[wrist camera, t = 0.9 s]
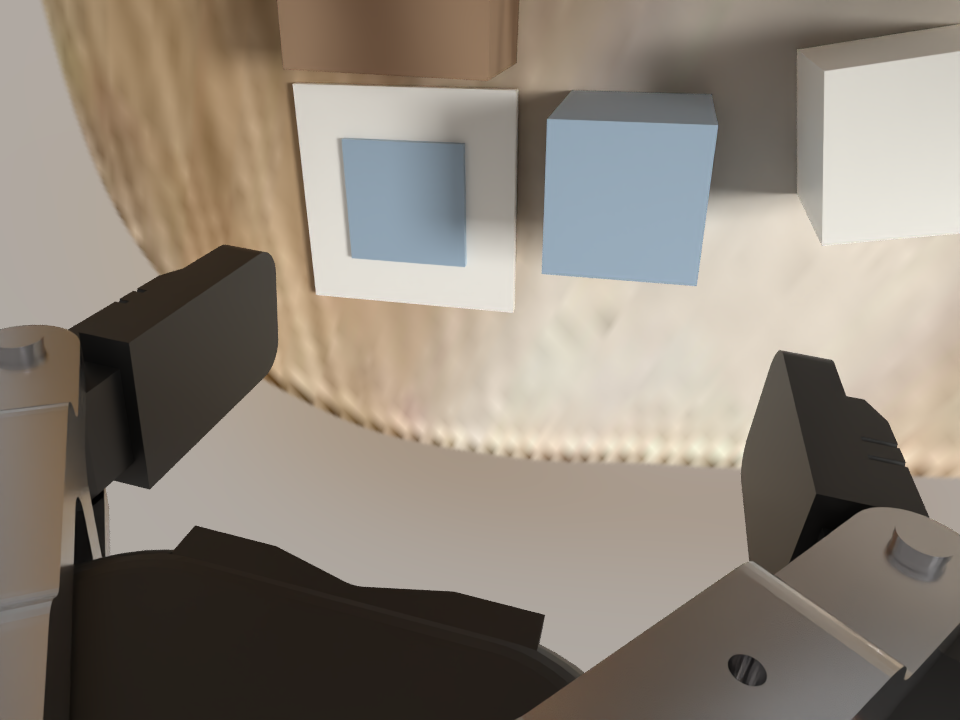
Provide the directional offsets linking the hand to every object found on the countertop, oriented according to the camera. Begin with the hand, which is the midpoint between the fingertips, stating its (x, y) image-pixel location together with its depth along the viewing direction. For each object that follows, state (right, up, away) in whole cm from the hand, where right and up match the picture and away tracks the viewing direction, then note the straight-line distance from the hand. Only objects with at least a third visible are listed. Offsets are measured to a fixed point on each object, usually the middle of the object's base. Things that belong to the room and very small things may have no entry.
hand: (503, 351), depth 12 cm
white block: (+13, +8, +14) cm, 21 cm away
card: (-3, +7, +20) cm, 21 cm away
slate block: (+5, +7, +17) cm, 19 cm away
